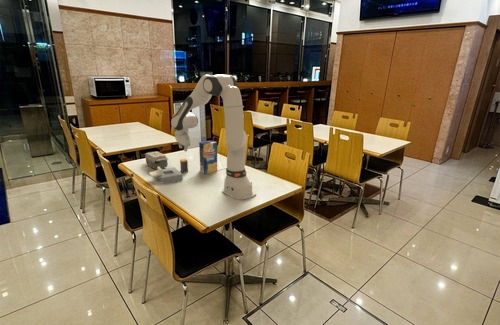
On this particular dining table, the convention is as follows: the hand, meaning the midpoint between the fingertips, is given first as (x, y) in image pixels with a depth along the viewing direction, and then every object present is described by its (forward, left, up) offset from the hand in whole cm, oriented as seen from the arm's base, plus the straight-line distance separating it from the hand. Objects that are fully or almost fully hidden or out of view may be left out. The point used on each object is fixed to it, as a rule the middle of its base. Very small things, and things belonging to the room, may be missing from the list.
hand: (183, 149), depth 201 cm
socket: (-7, +14, -17) cm, 23 cm away
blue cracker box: (-8, -16, -17) cm, 25 cm away
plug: (0, 0, -17) cm, 17 cm away
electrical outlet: (+21, +14, -17) cm, 30 cm away
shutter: (-7, +23, -12) cm, 27 cm away
